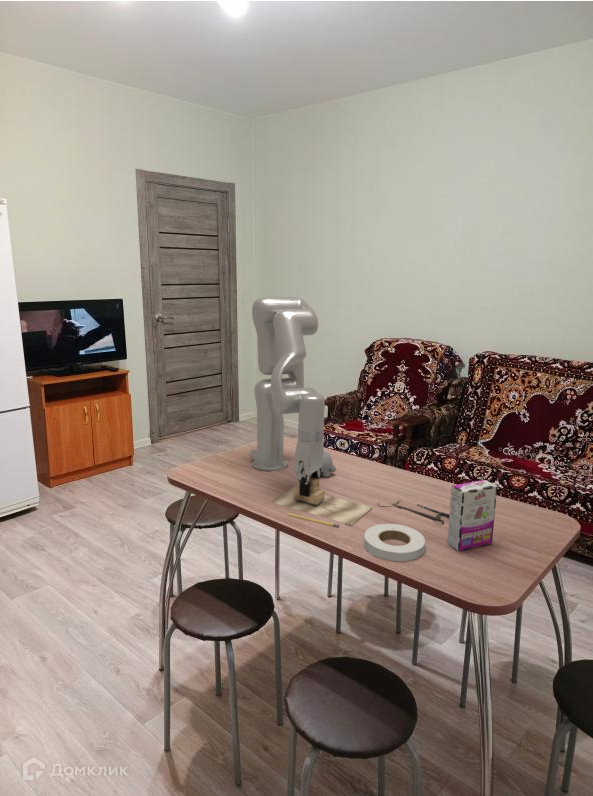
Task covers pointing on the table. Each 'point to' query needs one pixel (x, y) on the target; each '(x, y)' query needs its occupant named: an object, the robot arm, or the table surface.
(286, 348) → the robot arm
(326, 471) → the toy rhinoceros
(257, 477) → the table surface
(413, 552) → the roll of tape
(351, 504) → the birch board
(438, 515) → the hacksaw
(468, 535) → the candy bar box
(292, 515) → the pencil
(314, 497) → the cork sanding block
